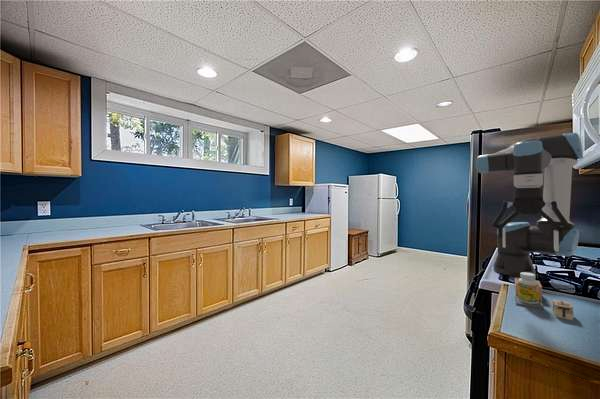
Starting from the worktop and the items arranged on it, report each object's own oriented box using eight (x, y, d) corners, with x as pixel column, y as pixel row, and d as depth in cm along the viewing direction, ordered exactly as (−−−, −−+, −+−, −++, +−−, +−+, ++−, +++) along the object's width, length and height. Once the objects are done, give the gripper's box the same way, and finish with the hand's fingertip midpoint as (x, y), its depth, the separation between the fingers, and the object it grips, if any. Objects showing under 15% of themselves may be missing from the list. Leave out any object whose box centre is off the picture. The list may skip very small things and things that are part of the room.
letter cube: (552, 312, 84) (552, 299, 84) (570, 315, 82) (570, 302, 82) (554, 317, 81) (554, 304, 81) (573, 320, 79) (573, 307, 79)
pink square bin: (514, 290, 102) (514, 277, 102) (539, 294, 98) (539, 280, 98) (516, 296, 96) (516, 283, 96) (542, 300, 92) (542, 286, 92)
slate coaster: (514, 297, 96) (514, 295, 96) (540, 301, 92) (540, 300, 92) (516, 304, 90) (516, 303, 90) (543, 309, 86) (543, 307, 86)
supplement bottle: (540, 301, 90) (540, 273, 90) (536, 306, 87) (536, 277, 87) (520, 296, 95) (520, 270, 94) (516, 301, 91) (515, 273, 91)
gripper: (483, 188, 94) (484, 247, 95) (583, 185, 79) (584, 254, 80) (483, 188, 100) (485, 243, 101) (577, 185, 85) (577, 249, 86)
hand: (529, 248), depth 91 cm, fingers open, 13 cm apart
